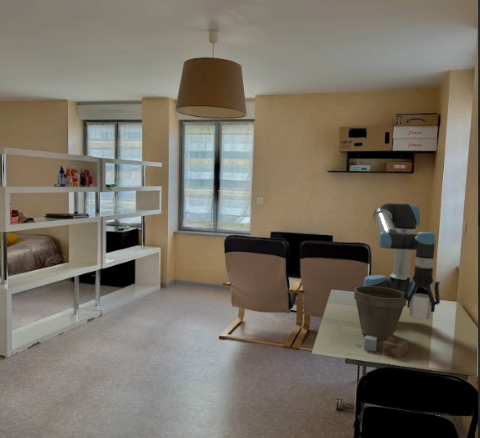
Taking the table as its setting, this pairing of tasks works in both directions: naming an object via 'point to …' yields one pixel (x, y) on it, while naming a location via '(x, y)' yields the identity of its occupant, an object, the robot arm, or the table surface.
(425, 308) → the white cup
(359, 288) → the plant pot
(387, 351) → the walnut block
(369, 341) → the grey cube
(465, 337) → the table surface
